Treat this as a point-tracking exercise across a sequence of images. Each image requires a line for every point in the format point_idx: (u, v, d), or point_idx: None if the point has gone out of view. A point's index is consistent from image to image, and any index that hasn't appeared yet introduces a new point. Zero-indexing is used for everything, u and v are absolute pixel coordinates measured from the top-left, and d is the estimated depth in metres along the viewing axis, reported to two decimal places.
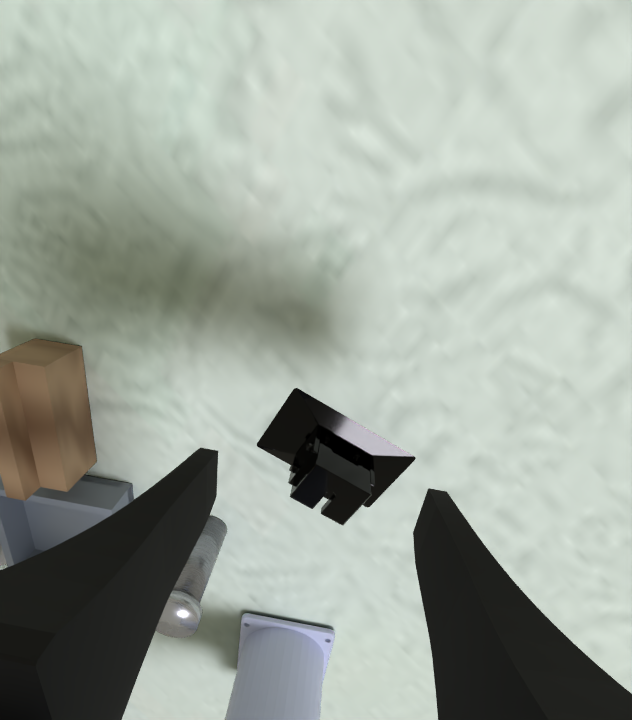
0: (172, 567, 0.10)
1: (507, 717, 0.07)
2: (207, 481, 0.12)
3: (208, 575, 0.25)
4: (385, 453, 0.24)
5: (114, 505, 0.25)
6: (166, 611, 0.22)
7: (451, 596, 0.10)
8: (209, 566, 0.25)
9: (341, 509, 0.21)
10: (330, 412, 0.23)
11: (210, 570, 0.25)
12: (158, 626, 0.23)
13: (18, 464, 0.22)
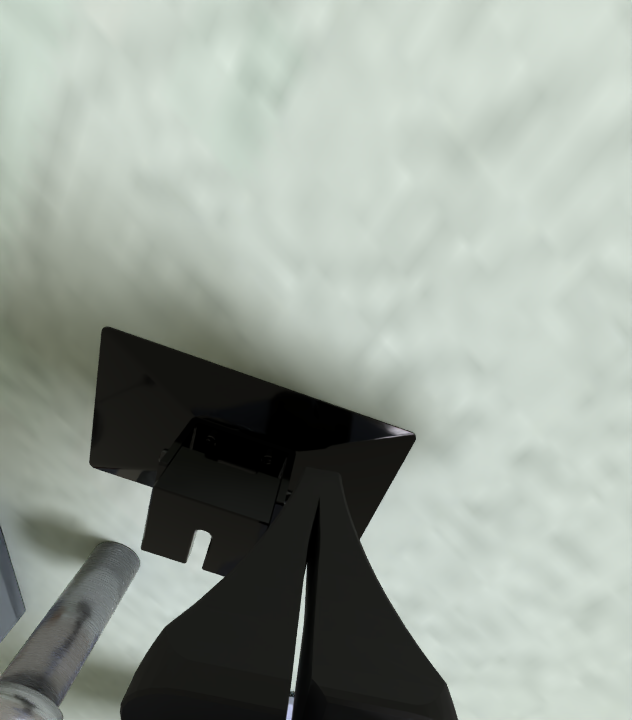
0: None
1: (306, 677, 0.07)
2: None
3: (89, 643, 0.15)
4: (316, 443, 0.14)
5: None
6: None
7: (314, 570, 0.10)
8: (93, 628, 0.16)
9: (230, 557, 0.12)
10: (208, 393, 0.14)
11: (95, 633, 0.16)
12: None
13: None
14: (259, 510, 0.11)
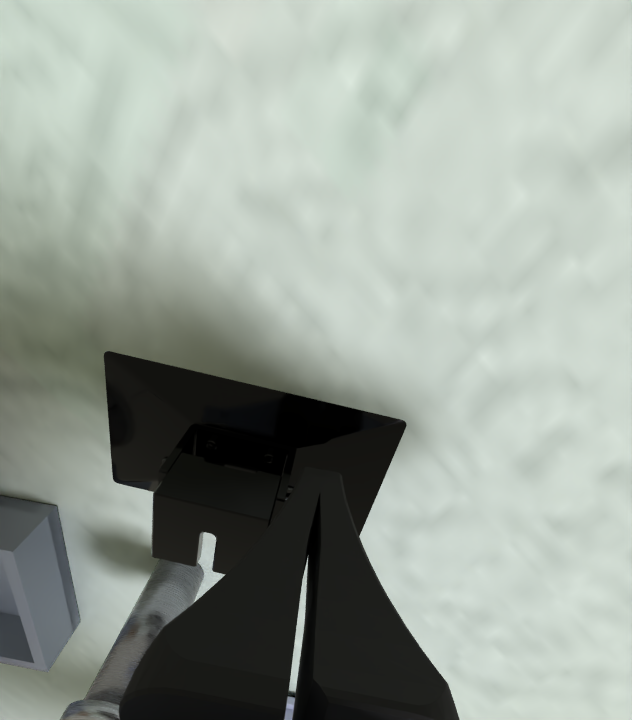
0: None
1: (307, 678, 0.07)
2: None
3: None
4: (315, 438, 0.14)
5: (19, 543, 0.16)
6: None
7: (314, 570, 0.10)
8: None
9: (238, 556, 0.12)
10: (204, 399, 0.14)
11: None
12: None
13: None
14: (259, 507, 0.11)
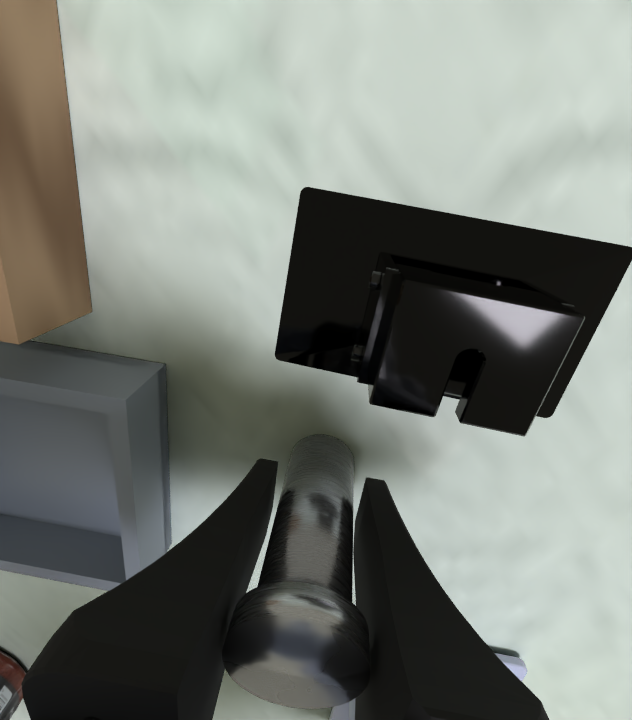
0: (244, 581, 0.10)
1: (390, 694, 0.07)
2: (270, 492, 0.12)
3: (352, 550, 0.11)
4: (551, 265, 0.10)
5: (131, 393, 0.11)
6: (287, 642, 0.08)
7: (371, 581, 0.10)
8: (351, 530, 0.11)
9: (510, 391, 0.08)
10: (397, 216, 0.10)
11: (352, 539, 0.11)
12: (255, 680, 0.08)
13: None
14: (556, 306, 0.08)
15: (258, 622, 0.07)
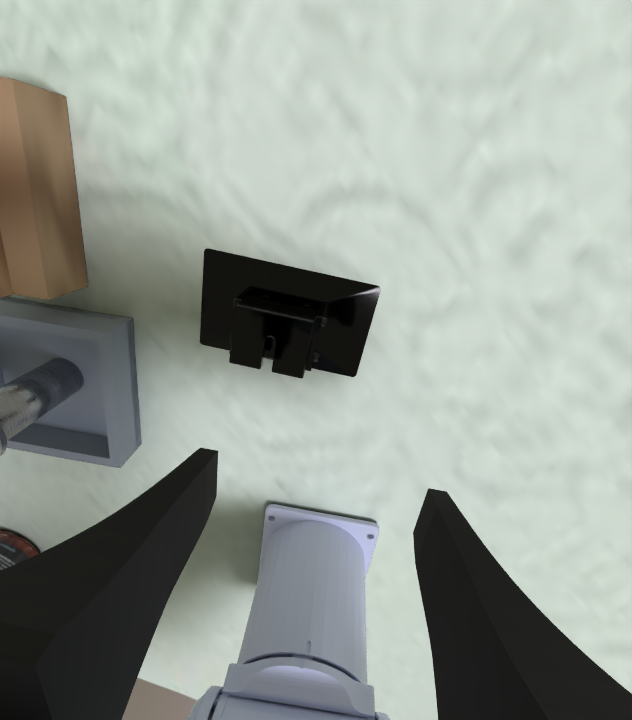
0: (172, 567, 0.10)
1: (507, 717, 0.07)
2: (207, 481, 0.12)
3: (33, 408, 0.19)
4: (339, 294, 0.20)
5: (110, 330, 0.20)
6: None
7: (451, 596, 0.10)
8: (37, 399, 0.20)
9: (290, 356, 0.17)
10: (258, 267, 0.20)
11: (39, 404, 0.20)
12: None
13: None
14: (305, 317, 0.17)
15: None
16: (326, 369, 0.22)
